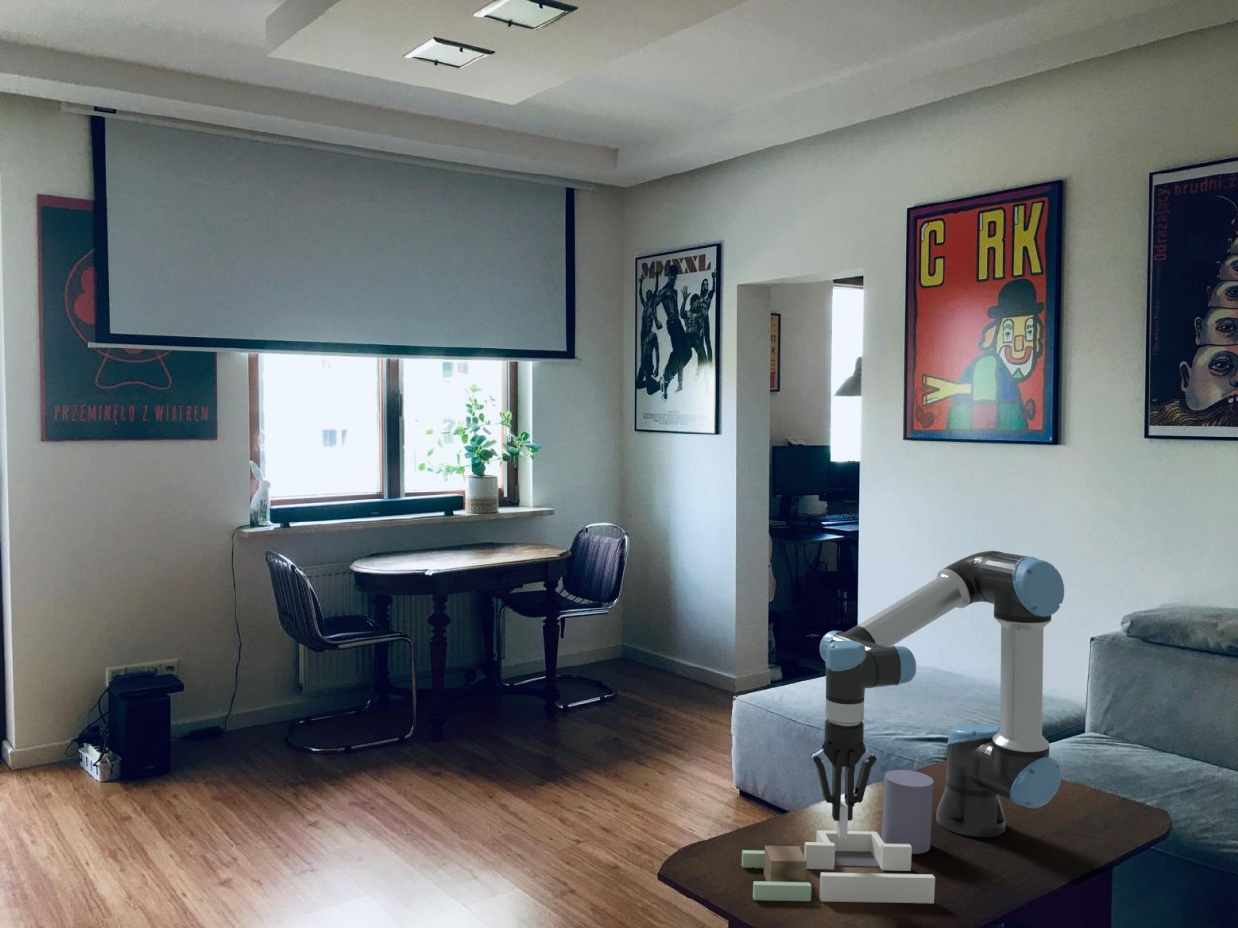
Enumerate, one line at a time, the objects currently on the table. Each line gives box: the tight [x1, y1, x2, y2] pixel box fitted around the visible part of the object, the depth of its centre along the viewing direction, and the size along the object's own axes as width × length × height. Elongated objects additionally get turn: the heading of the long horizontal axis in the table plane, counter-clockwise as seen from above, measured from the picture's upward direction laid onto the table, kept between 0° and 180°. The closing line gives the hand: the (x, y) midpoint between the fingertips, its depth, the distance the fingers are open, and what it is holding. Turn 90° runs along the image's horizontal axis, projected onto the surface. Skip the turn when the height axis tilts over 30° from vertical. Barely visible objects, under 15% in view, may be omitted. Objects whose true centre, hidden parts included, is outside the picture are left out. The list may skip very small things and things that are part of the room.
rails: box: [741, 849, 813, 902], centre depth 204 cm, size 11×16×3 cm
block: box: [763, 845, 807, 882], centre depth 204 cm, size 7×7×6 cm
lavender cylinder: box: [881, 769, 934, 855], centre depth 224 cm, size 10×10×15 cm
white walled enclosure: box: [803, 829, 936, 904], centre depth 209 cm, size 22×24×5 cm
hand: (841, 835), depth 205 cm, fingers closed
